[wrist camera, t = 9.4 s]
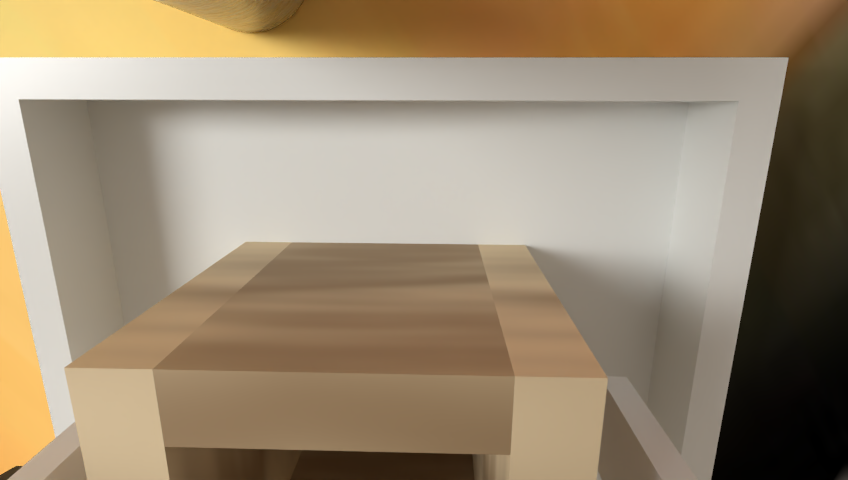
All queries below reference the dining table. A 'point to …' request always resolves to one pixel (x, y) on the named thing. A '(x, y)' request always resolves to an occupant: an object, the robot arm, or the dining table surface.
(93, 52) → the dining table surface
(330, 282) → the wooden box
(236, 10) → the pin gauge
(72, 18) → the dining table surface
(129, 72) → the tray
